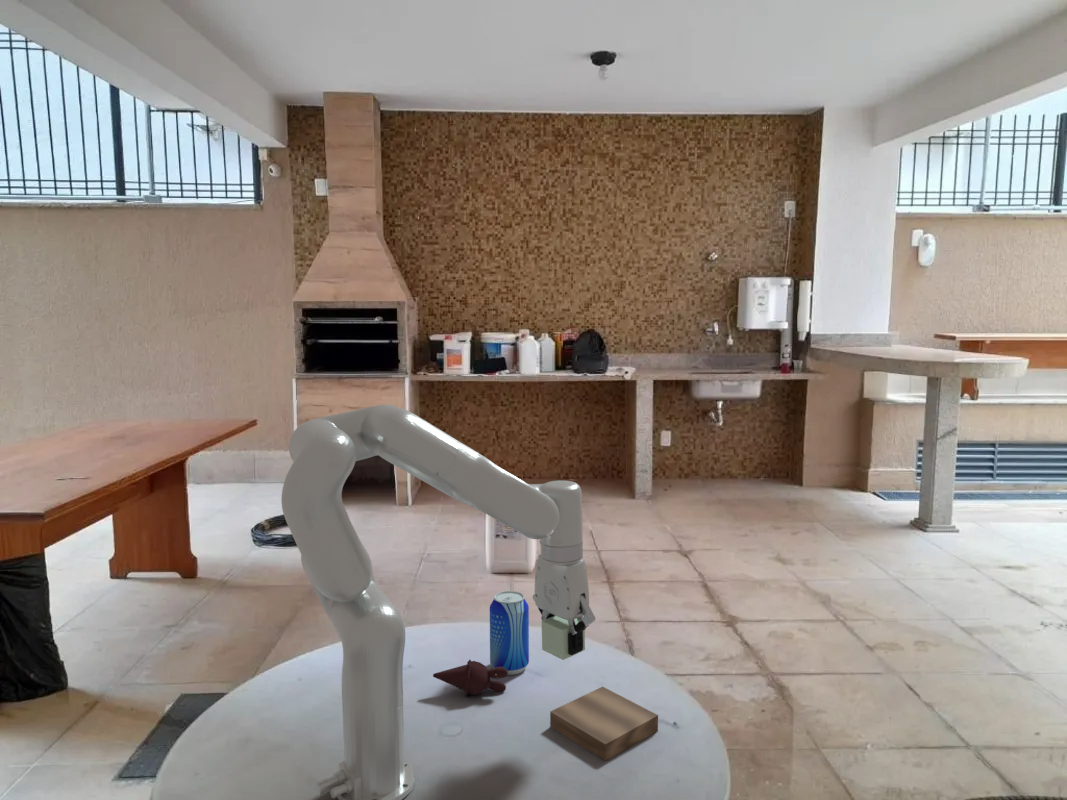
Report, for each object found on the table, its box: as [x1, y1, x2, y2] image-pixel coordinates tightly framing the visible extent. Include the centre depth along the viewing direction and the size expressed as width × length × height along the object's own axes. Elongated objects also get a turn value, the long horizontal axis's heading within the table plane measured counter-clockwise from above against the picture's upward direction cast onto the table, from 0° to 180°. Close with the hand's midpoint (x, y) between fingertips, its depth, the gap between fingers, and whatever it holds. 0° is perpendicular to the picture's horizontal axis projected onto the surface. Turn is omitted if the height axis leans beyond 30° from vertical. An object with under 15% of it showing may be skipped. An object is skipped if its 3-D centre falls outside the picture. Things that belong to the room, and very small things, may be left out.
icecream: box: [432, 659, 508, 697], centre depth 148 cm, size 7×7×15 cm
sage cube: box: [541, 616, 586, 661], centre depth 133 cm, size 6×6×6 cm
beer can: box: [489, 590, 530, 676], centre depth 158 cm, size 8×8×16 cm
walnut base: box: [549, 686, 659, 762], centre depth 135 cm, size 14×14×3 cm
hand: (563, 645), depth 133 cm, fingers closed on sage cube, 5 cm apart
